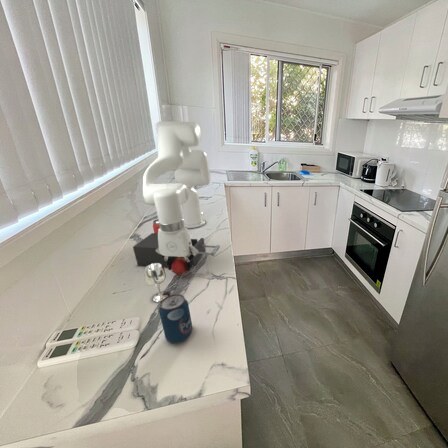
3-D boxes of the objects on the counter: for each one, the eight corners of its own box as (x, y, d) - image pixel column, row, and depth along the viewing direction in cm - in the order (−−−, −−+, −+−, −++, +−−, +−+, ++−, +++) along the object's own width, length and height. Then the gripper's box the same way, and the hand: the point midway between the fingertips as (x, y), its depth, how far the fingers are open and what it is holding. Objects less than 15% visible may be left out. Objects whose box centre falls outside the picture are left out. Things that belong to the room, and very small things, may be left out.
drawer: (222, 252, 109) (221, 238, 106) (213, 266, 98) (211, 251, 96) (175, 250, 109) (173, 236, 107) (161, 264, 99) (158, 249, 96)
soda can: (190, 343, 66) (183, 309, 61) (162, 347, 64) (153, 312, 60) (195, 324, 72) (189, 291, 67) (169, 327, 70) (162, 294, 66)
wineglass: (157, 305, 78) (149, 274, 74) (147, 298, 81) (139, 268, 77) (173, 295, 83) (167, 265, 78) (163, 289, 86) (157, 260, 81)
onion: (173, 280, 89) (169, 262, 85) (172, 272, 93) (169, 254, 90) (190, 277, 91) (187, 258, 88) (189, 268, 96) (186, 251, 93)
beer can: (166, 247, 113) (161, 224, 108) (153, 246, 114) (148, 222, 109) (175, 241, 119) (171, 218, 114) (163, 240, 120) (158, 217, 115)
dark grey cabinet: (188, 252, 110) (185, 234, 107) (173, 267, 98) (169, 248, 95) (156, 250, 110) (152, 233, 107) (137, 265, 99) (132, 246, 95)
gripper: (140, 228, 80) (152, 273, 88) (192, 230, 80) (199, 275, 88) (153, 219, 87) (163, 261, 95) (201, 221, 87) (207, 264, 94)
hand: (180, 268), depth 91 cm, fingers closed on onion, 5 cm apart
